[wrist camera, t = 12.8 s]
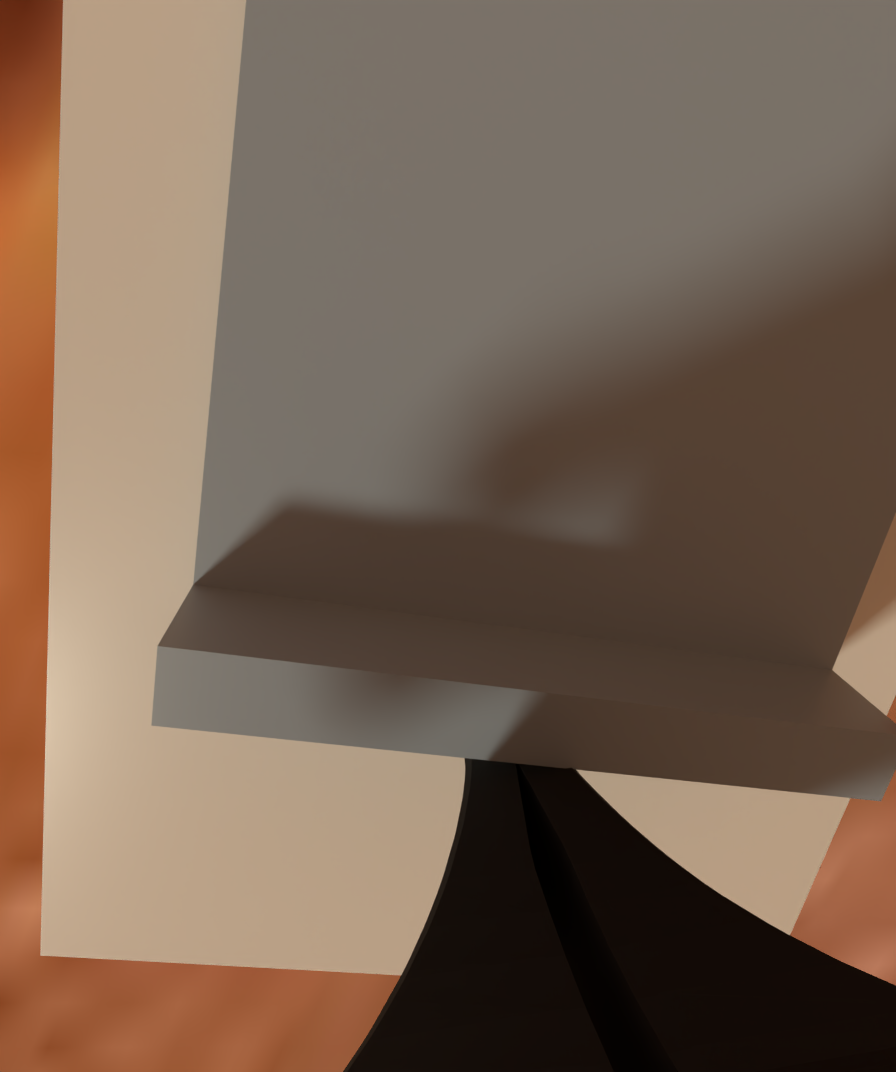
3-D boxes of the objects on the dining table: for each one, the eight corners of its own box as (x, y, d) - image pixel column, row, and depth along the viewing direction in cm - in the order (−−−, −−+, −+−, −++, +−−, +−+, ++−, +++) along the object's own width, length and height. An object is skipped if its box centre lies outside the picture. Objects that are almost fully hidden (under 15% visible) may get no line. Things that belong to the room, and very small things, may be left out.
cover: (198, 630, 12) (151, 725, 10) (273, -169, 9) (233, -356, 6) (785, 703, 14) (881, 801, 11) (1036, 55, 11) (1255, -18, 8)
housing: (126, 779, 20) (40, 955, 15) (176, 17, 14) (66, -131, 9) (672, 829, 22) (763, 995, 17) (896, 197, 17) (1130, 161, 12)
